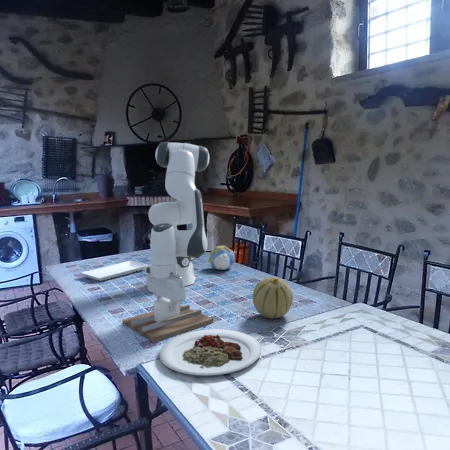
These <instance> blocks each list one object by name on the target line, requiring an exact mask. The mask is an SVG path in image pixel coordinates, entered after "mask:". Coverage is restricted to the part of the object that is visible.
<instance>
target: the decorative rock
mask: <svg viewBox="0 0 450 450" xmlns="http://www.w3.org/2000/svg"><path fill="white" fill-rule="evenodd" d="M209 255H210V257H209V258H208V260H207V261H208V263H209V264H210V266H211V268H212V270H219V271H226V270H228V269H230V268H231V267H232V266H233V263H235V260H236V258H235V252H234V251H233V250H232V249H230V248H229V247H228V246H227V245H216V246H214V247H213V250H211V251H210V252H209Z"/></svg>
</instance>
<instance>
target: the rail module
mask: <svg viewBox="0 0 450 450" xmlns="http://www.w3.org/2000/svg"><path fill="white" fill-rule="evenodd" d="M152 302H153V311H154V320H155V321H156V322H160V321H163V320H166V319H170V318H173V317H176V316H179V315H181V314H180V305H181V302H178V303H177V304H176V310H175V311H173V312H172V311H170V310H169V306H171V302H170V299H167V298H165V297H164V298H163V299H161V300H157V299H156V300H154V301H152Z"/></svg>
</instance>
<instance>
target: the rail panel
mask: <svg viewBox="0 0 450 450" xmlns="http://www.w3.org/2000/svg"><path fill="white" fill-rule="evenodd" d="M180 314H181V315H179V316H176V317H173V318H170V319H166V320H163V321H160V322H156V321H155V320H154V310H153V311H150V312H146V313H142V314H139V315H136V316H135V315H134V316H132V317H129V318H124V319H122V320H121V321H122V324H123V325H124V326H125V327H127V328H129V329H131V330H132V331H134V332H135V333H137V334H138V335H140V336H142V337H144V338H145V339H147V340H149V341H151V342H152V343H158V342H161V341H163V340H166V339H169V338H173V337H174V336H175V337H176V336H179V335H182V334H185V333H188V332H190V331H192V330H196V329H199V328H201V327H204V326H207V325H210V324H214V318H212V317H211V316H208V315H207V314H202V309H201V308H198V309H196V310H193V309H191V307H190V304H185V305H181V304H180Z"/></svg>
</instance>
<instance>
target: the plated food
mask: <svg viewBox="0 0 450 450" xmlns="http://www.w3.org/2000/svg"><path fill="white" fill-rule="evenodd" d="M158 354H159V355H158V356H159V359H160V362H162V363H163V365H164V366H166V367H167V368H168V369H171V370H173V371H174V372H176V373H181V374H186V375H191V376H220V375H226V374H231V373H234V372H239V371H241V370H243V369H246V368H248V367H249V366H251V365H252V364H255V362H256V361H258V359H259V358H260V356H261V354H262V347H261V343H259V341H258V340H257V339H255V338H254V337H252V336H251V335H249V334H246V333H244V332H242V331H237V330H233V329H232V330H230V329H223V328H222V329H220V328H219V329H218V328H217V329H216V328H215V329H213V328H211V329H200V330H195V331H191V332H190V331H188V332H184V333H181V334H178V335H176V336H175V337H172V338H171V339H169V340H168V341H167V342H165V343H164V344H163V345H162V346H161V348H160V349H159V353H158Z"/></svg>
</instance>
